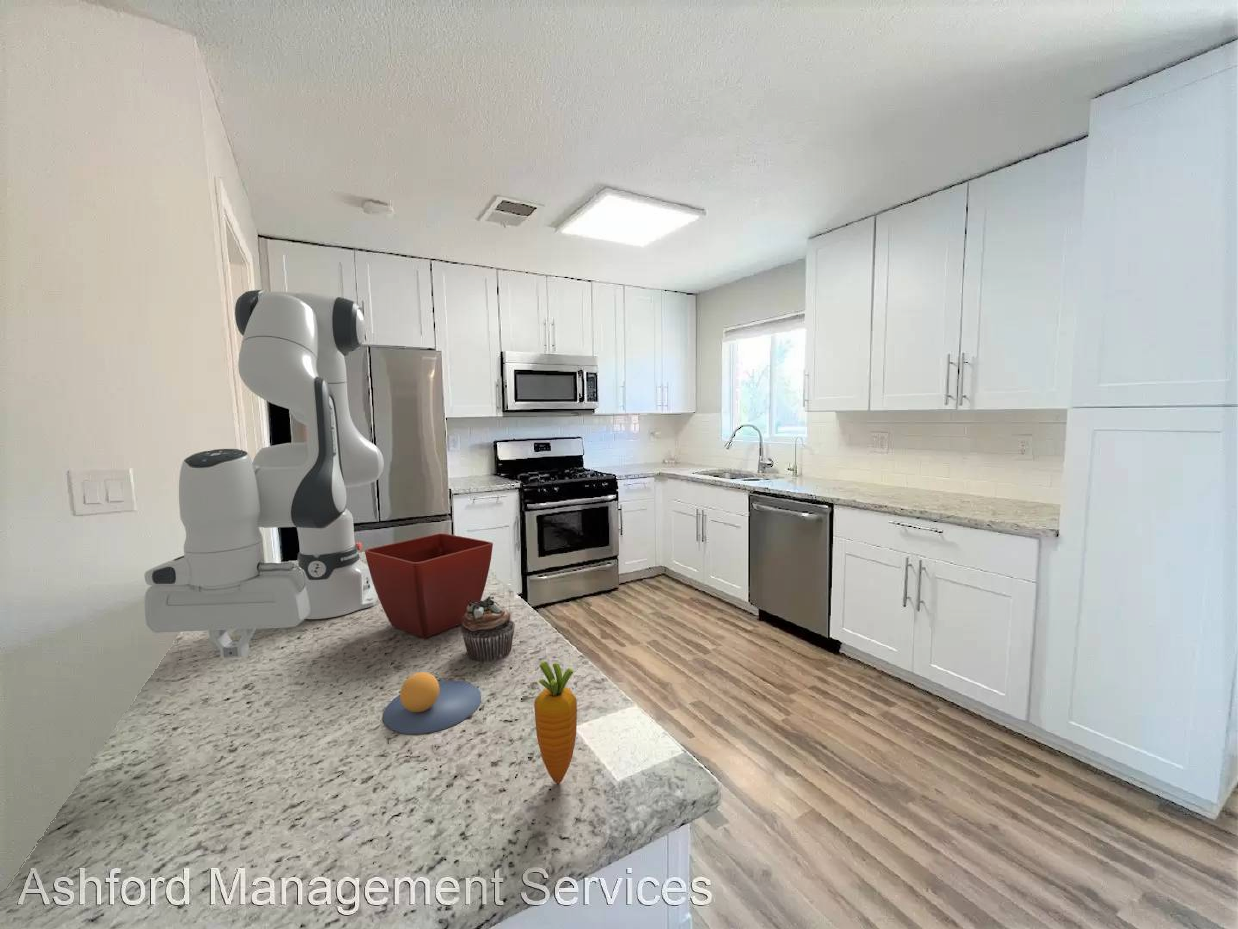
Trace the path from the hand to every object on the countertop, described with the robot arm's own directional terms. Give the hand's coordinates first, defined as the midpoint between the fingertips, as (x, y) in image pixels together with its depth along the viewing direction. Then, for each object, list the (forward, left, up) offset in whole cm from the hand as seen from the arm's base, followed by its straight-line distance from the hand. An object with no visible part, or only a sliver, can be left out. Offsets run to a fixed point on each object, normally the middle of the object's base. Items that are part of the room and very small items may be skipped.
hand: (235, 656), depth 73 cm
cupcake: (-16, +34, -10) cm, 39 cm away
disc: (+1, +28, -10) cm, 29 cm away
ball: (+1, +26, -7) cm, 27 cm away
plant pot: (-32, +20, -10) cm, 39 cm away
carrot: (+20, +47, -10) cm, 52 cm away
